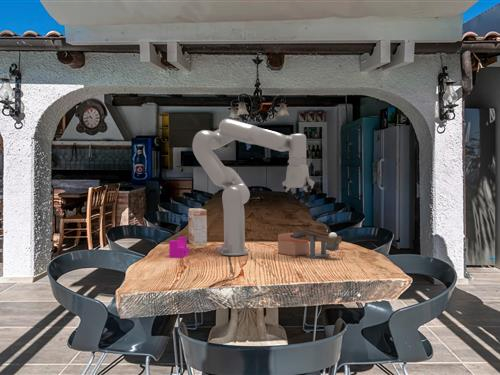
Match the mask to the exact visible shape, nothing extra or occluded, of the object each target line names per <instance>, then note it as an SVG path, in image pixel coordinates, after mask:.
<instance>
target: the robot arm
mask: <svg viewBox="0 0 500 375" xmlns="http://www.w3.org/2000/svg"><path fill="white" fill-rule="evenodd" d="M233 141H239V142H242V143H246V144H249V145H257V146H259V147H264V148H268V149H269V150H274V151H278V152H288V155H289V156H288V157H289V158H288V159H287V164H288V165H287V167H286V168H287V169H286V172H285V173H286V176H285V180H284V181H282V182H281V183H282V187H283V190H285V192H286V202H293V192H292V191H293V189H294V188H295V189H297V188H298V189H300V188H301V189H303V190H304V192H303V201H304V202H310V200H311V192H312V190H313V189H314V185H315V184H316V182H315V181H314V180H313V179H310V173H309V168H308V167H309V166H308V164H307V136H306V134H304V133H291V134H290V135H287V134H286V135H285V134H283V133H280V132H277V131H273V130H269V129H265V128H262V127H258V126H257V125H254V124H250V123H247V122H242V121H241V120H240V121H239V120H236V119H231V118H224V119H222V120H221V121H220V123H219V125H218V129H216V130H215V131H211V130H208V129H207V130H206V129H202V130H200V131H198V132H196V134H195V135H194V137H193V140H192V152H193V154H194V156H195V158H196V160H197V161H198V163H199V165H201V167H202V168H203V170H204V171H205V173H206V174H207V176H208V177H209V179H210V181H212V183H213V184H214V185H216V186H217V187H219V188H220V187H222V188H223V191H222V196H221V197H222V201H221V202H222V208H223V244H222V245H221V246H217V247H215V251H216V252H220V254H221V255H224V256H244V255H248V254H249V251H248V250H246V247H245V246H246V245H245V244H246V239H245V238H246V236H245V235H246V234H245V233H246V232H245V230H246V229H245V228H246V224H245V223H246V222H245V220H246V219H245V207H244V204H246V203H248V201H249V200H250V196H251V194H250V190H249V188H248V186H247V185H246V184H245V182H244V181H243V180H242V178H241V177H240V175H239V174H238V173H237V172H236V170H235V169H233V168H232V167H230V166H225V165H224V164H223V162H222V161H221V159H220V158H219V156H217V154H216V153H215V152H214V151H215V150H218V149H221V148H222V147H224V146H226V145H229V143H231V142H233Z"/></svg>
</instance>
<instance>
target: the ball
mask: <svg viewBox="0 0 500 375" xmlns="http://www.w3.org/2000/svg"><path fill="white" fill-rule="evenodd" d="M328 234H329V237H330V238H333V237H337V236H338V234H337V233H336V232H333V231H332V232H330V233H328Z"/></svg>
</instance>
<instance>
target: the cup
mask: <svg viewBox="0 0 500 375" xmlns="http://www.w3.org/2000/svg"><path fill="white" fill-rule="evenodd" d="M292 234H295V232H287V233H286V232H285V233H278V234H277V247H278V248H277V254H278V255H283V256H290V257H300V256H304V255H305V256H306V255H309V253H310V242H309V240H308V239H307V240H306V239H299V238H292V237H290V235H292Z"/></svg>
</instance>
